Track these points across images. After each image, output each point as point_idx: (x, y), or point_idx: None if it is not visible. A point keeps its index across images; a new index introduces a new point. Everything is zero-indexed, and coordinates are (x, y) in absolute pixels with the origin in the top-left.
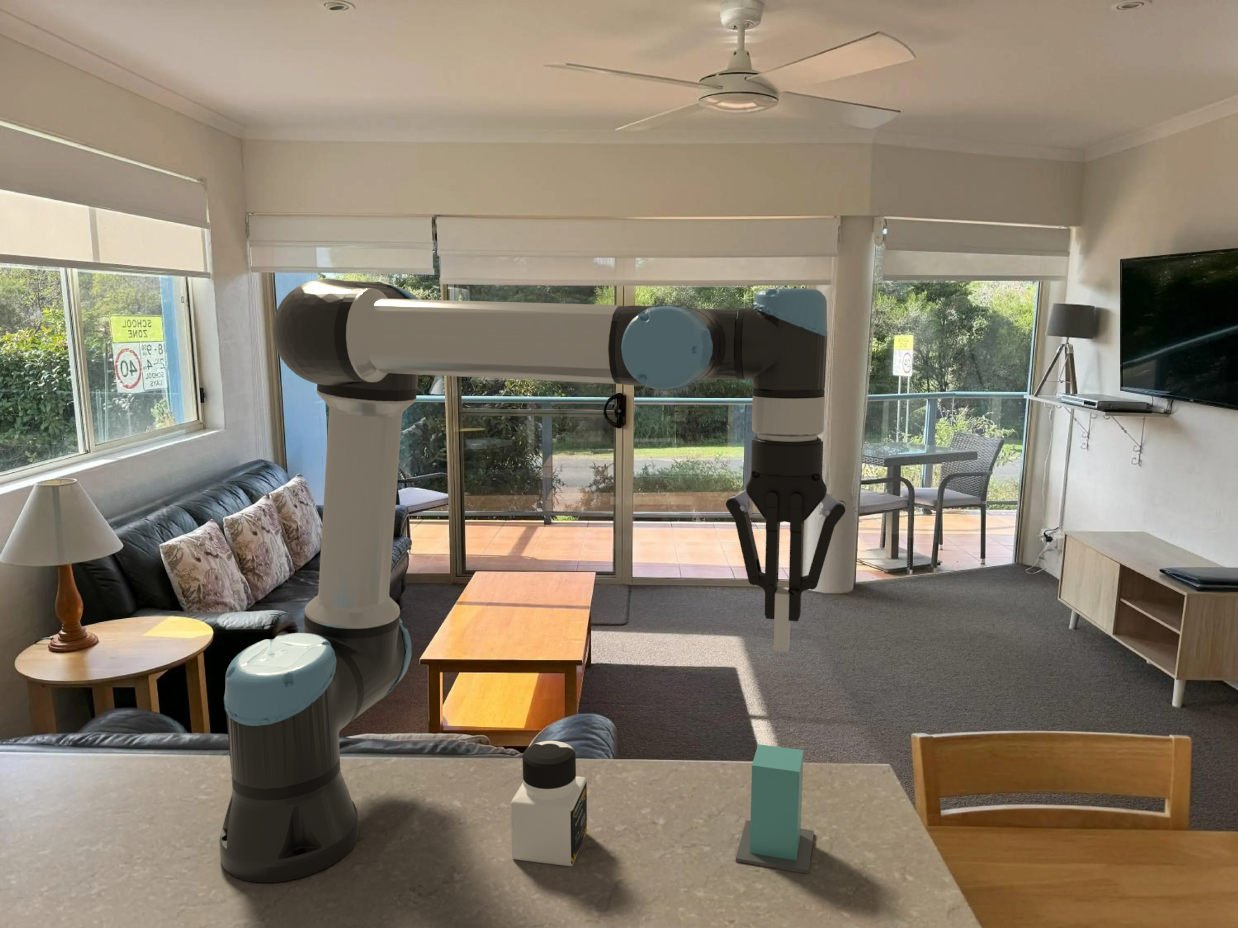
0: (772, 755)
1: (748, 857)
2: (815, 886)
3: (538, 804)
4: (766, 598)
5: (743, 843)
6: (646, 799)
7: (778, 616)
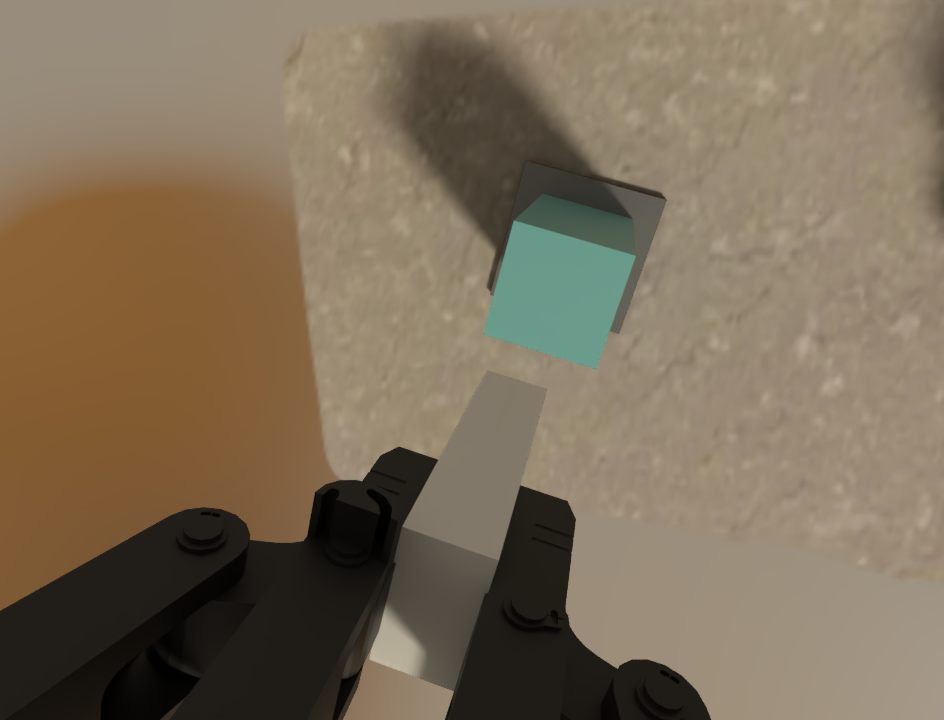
0: (569, 307)
1: (638, 203)
2: (521, 118)
3: None
4: (557, 578)
5: (640, 251)
6: (822, 425)
7: (500, 464)
